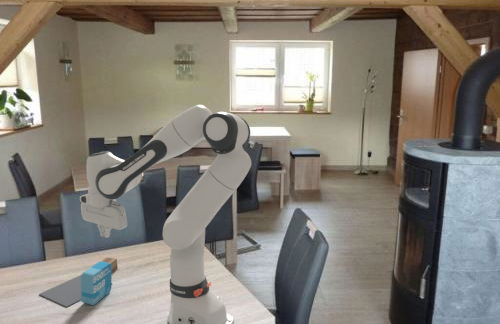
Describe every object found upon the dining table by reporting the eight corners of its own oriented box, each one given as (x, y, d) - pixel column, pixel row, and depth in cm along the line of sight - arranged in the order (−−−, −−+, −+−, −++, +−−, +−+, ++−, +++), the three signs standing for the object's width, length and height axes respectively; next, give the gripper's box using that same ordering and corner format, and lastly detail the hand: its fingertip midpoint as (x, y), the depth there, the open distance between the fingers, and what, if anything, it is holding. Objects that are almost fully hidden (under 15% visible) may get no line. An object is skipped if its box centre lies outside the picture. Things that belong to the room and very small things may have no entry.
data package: (91, 307, 149) (91, 276, 146) (80, 304, 150) (80, 273, 147) (111, 290, 160) (111, 261, 157) (101, 288, 161) (101, 259, 158)
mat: (112, 284, 165) (112, 283, 165) (66, 307, 149) (66, 306, 148) (85, 274, 174) (85, 273, 174) (39, 294, 158) (39, 293, 158)
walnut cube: (117, 269, 178) (116, 258, 177) (111, 274, 173) (110, 263, 173) (107, 268, 179) (106, 257, 178) (100, 273, 175) (99, 262, 174)
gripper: (130, 200, 141) (132, 239, 143) (91, 192, 152) (94, 228, 154) (115, 205, 136) (118, 245, 138) (76, 196, 147) (79, 233, 149)
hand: (105, 236), depth 146 cm, fingers closed
